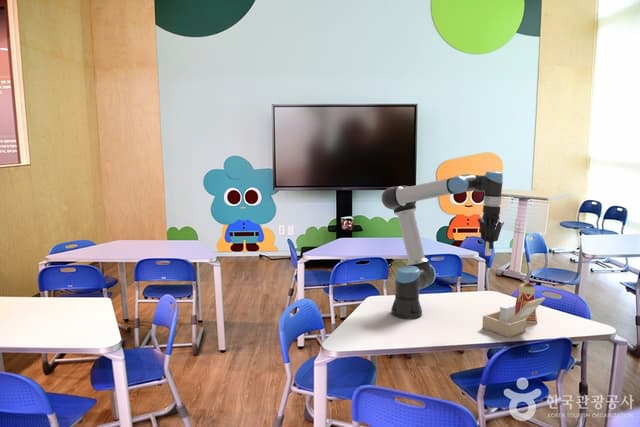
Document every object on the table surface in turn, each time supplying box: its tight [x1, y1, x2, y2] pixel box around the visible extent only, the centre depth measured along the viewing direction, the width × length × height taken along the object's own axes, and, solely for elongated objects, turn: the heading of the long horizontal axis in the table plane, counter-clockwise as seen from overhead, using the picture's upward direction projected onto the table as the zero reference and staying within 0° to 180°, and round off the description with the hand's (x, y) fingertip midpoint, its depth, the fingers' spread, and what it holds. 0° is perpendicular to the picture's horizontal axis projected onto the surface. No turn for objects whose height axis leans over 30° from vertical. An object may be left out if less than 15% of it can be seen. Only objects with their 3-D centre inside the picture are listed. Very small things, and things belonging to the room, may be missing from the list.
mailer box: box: [481, 303, 527, 339], centre depth 221 cm, size 14×12×12 cm
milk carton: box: [514, 280, 538, 324], centre depth 235 cm, size 9×9×20 cm
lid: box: [509, 296, 546, 324], centre depth 211 cm, size 14×12×1 cm
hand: (488, 255), depth 227 cm, fingers closed
